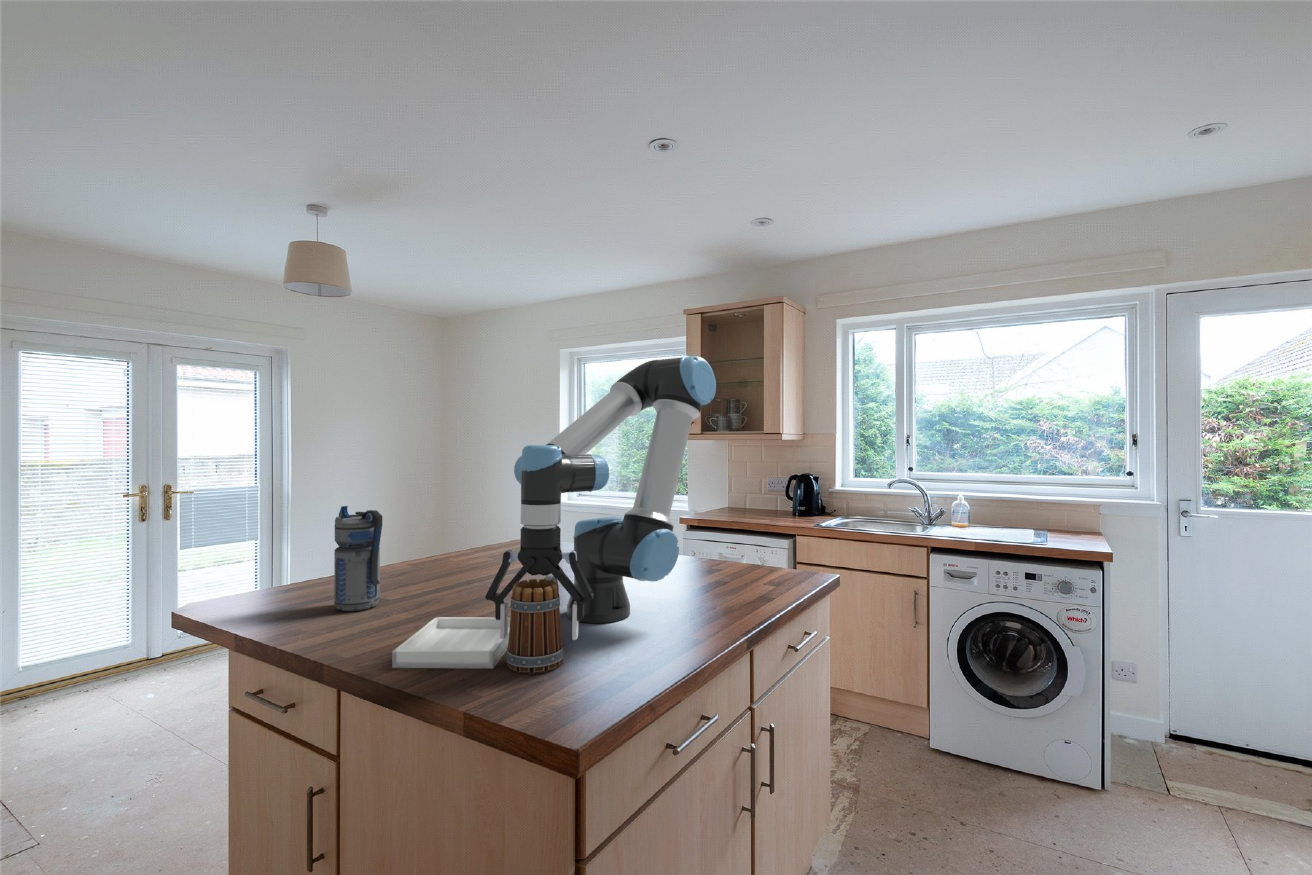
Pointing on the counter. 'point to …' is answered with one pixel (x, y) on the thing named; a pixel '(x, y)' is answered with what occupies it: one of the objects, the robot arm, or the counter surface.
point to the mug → (535, 627)
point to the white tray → (453, 644)
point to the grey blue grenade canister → (357, 560)
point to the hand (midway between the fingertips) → (539, 637)
